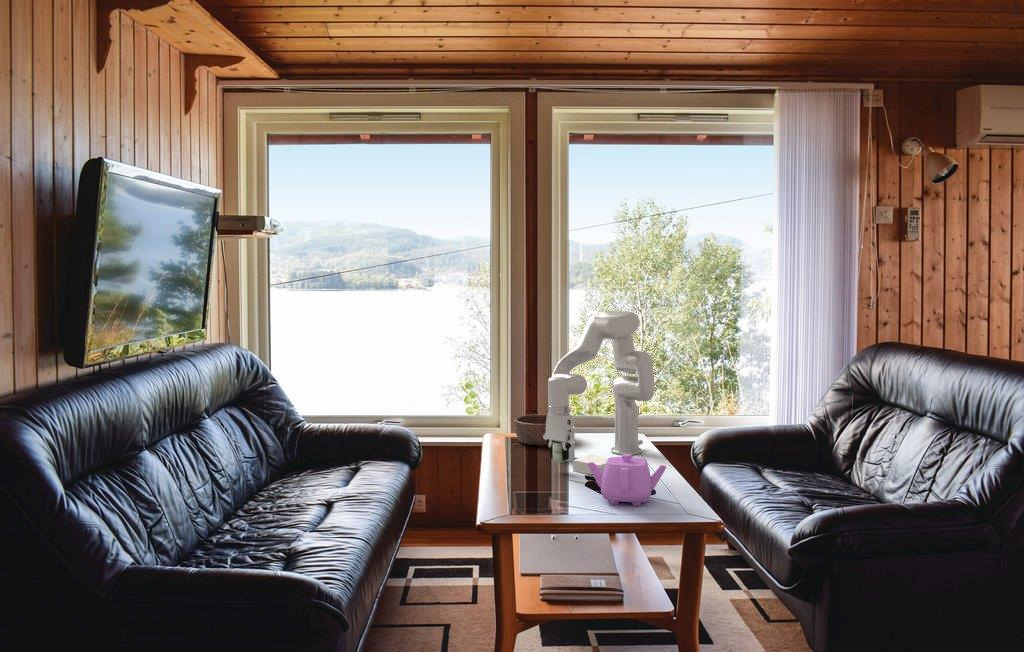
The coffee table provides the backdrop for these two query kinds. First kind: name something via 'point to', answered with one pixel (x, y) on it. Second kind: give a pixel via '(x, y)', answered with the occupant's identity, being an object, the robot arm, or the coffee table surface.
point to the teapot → (626, 479)
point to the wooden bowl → (531, 429)
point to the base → (581, 463)
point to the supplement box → (572, 449)
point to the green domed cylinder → (557, 452)
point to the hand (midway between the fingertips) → (559, 458)
